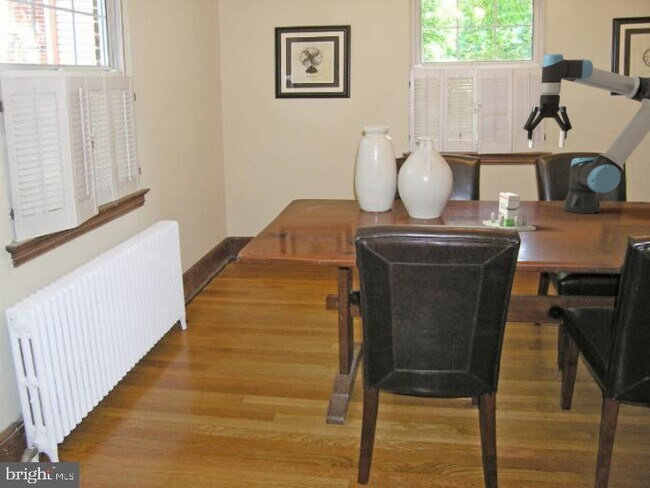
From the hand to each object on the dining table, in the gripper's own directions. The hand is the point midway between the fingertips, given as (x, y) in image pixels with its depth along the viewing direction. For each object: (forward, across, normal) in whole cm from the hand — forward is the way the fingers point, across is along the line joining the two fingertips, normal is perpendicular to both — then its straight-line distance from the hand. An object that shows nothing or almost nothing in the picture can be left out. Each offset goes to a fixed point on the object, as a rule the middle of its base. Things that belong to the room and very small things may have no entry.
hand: (546, 147), depth 285 cm
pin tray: (+29, +23, +16) cm, 40 cm away
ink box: (+28, +23, +16) cm, 40 cm away
